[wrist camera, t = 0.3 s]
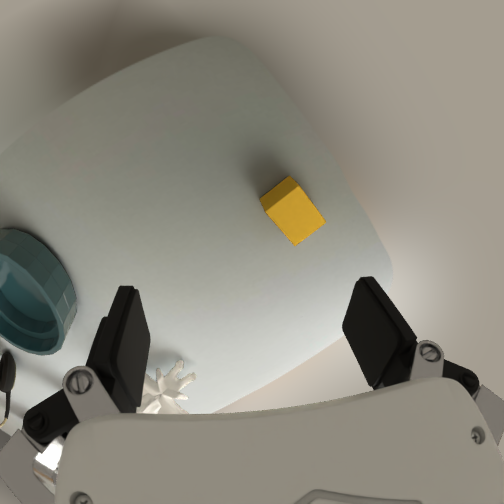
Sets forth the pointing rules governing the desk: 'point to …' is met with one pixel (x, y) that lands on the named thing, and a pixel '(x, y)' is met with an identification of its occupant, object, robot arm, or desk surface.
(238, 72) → the desk surface
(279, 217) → the yellow block
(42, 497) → the robot arm
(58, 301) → the bowl
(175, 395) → the figurine
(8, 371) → the headphones
